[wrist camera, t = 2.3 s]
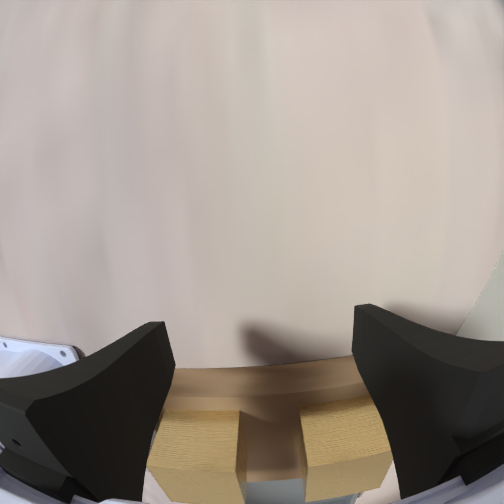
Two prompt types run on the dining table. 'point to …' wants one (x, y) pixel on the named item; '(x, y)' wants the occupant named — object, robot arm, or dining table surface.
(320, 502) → the tray
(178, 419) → the wooden cube
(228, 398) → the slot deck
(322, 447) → the tan wooden cube
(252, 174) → the dining table surface
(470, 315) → the light grey rounded slab
